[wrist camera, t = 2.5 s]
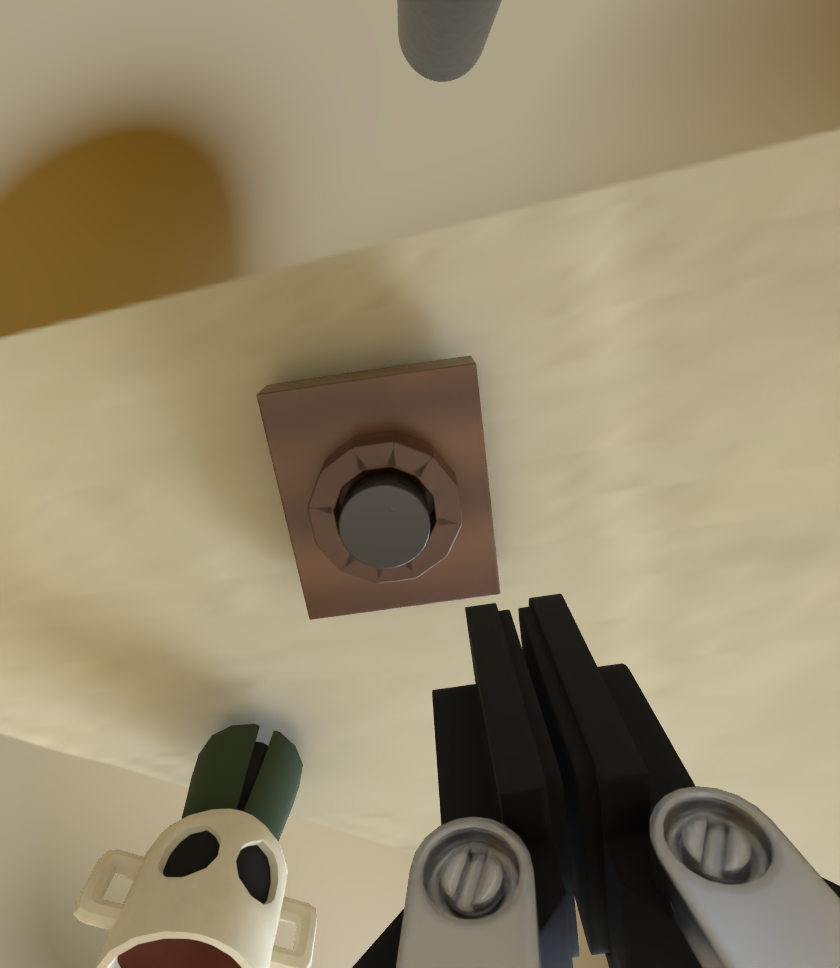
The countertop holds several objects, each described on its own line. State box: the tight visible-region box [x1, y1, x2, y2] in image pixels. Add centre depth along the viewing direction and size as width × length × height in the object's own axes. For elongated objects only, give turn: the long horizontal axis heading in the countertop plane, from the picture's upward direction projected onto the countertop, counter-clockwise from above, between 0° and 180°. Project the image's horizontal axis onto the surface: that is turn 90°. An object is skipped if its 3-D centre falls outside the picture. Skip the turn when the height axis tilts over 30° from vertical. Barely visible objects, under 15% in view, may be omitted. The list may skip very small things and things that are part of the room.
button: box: [339, 472, 430, 568], centre depth 27 cm, size 4×4×2 cm
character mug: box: [74, 724, 317, 968], centre depth 31 cm, size 11×7×13 cm, turn 67°
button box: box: [257, 356, 500, 620], centre depth 30 cm, size 12×10×4 cm
